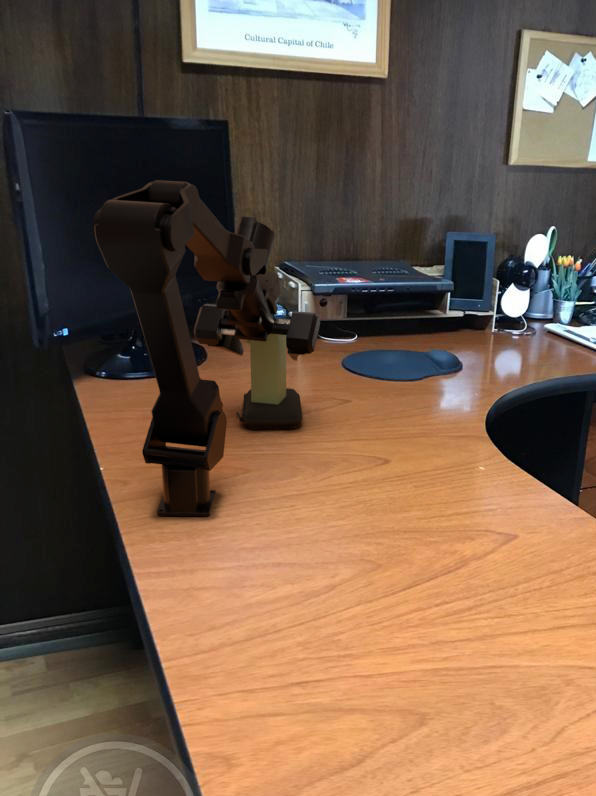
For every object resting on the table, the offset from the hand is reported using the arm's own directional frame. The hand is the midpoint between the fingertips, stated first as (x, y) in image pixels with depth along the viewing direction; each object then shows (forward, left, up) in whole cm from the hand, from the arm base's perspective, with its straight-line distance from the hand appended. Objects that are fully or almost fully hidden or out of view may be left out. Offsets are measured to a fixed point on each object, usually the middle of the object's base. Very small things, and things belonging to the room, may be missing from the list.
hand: (269, 355), depth 126 cm
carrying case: (0, 0, -11) cm, 11 cm away
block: (0, 0, -7) cm, 7 cm away
